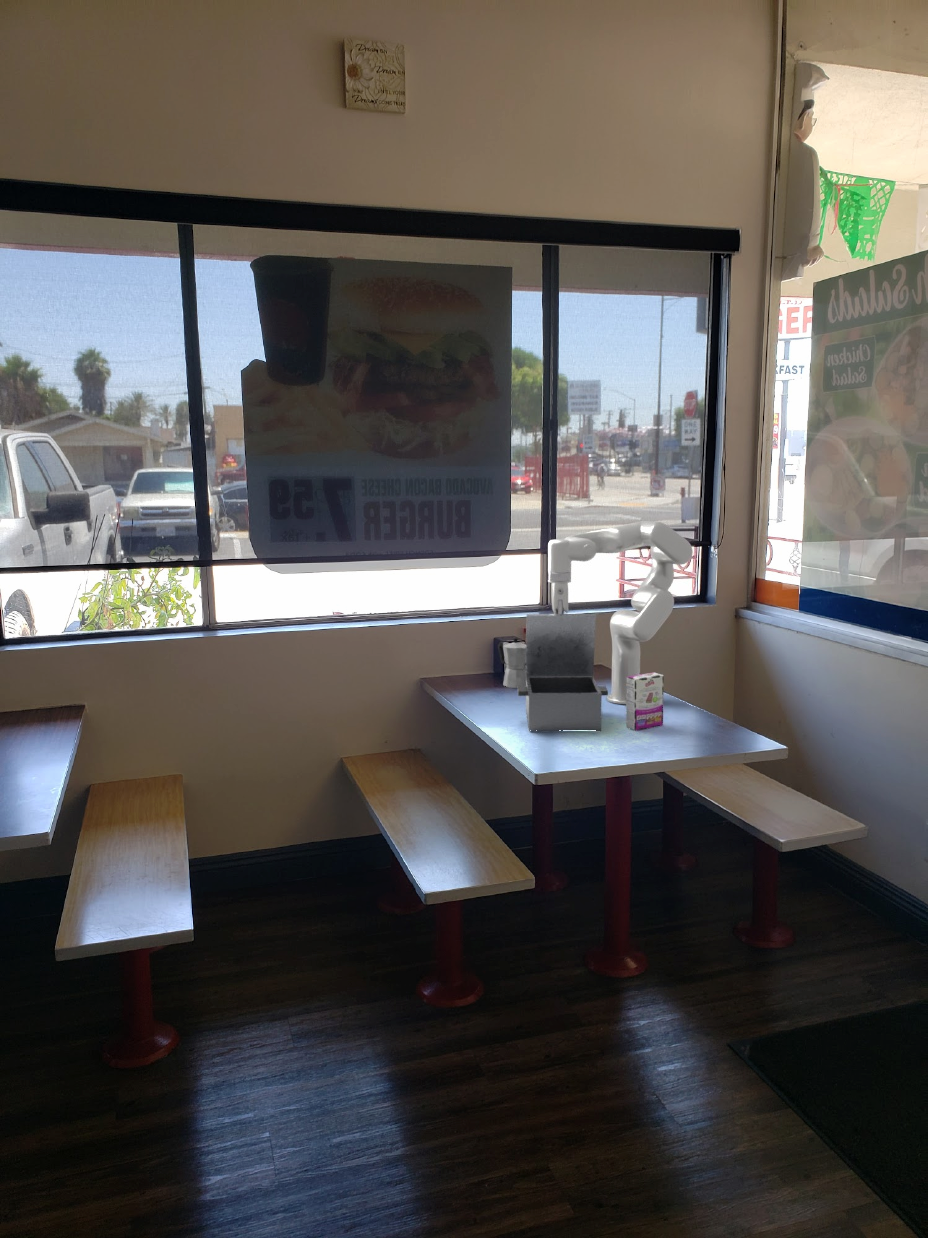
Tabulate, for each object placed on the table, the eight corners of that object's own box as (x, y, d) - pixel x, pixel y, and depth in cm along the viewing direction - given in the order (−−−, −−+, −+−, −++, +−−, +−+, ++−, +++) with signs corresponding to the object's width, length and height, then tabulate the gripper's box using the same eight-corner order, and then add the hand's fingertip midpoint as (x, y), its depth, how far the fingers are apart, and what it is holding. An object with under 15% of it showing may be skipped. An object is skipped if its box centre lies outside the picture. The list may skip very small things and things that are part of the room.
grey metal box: (601, 712, 297) (602, 676, 295) (610, 731, 275) (611, 693, 273) (516, 712, 298) (516, 677, 296) (519, 731, 276) (519, 693, 274)
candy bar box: (653, 722, 284) (654, 671, 282) (663, 726, 280) (664, 674, 277) (624, 727, 279) (625, 675, 277) (634, 731, 275) (635, 679, 272)
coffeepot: (537, 686, 333) (537, 638, 330) (520, 690, 326) (520, 641, 323) (506, 679, 344) (506, 633, 341) (489, 683, 337) (489, 636, 334)
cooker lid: (593, 676, 295) (592, 671, 298) (596, 615, 286) (594, 611, 289) (525, 676, 295) (525, 672, 298) (526, 615, 286) (526, 611, 289)
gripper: (572, 580, 285) (572, 637, 288) (569, 574, 300) (568, 628, 303) (549, 580, 285) (548, 637, 288) (546, 574, 300) (546, 628, 303)
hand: (558, 632), depth 296 cm, fingers closed
